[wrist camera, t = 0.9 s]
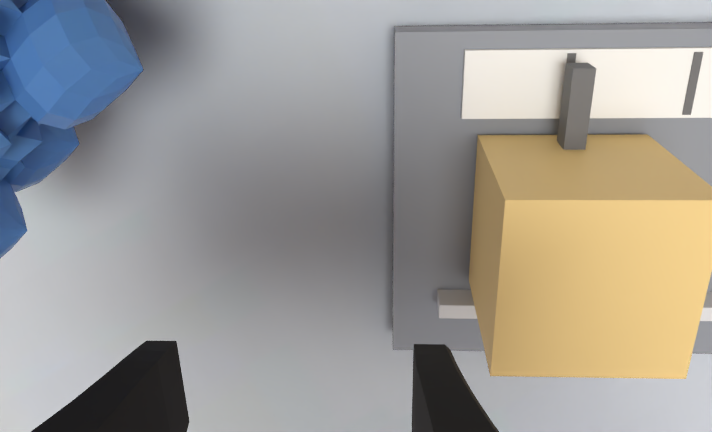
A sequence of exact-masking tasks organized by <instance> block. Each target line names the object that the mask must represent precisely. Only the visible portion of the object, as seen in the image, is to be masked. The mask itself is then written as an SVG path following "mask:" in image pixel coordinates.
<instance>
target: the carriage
mask: <svg viewBox="0 0 712 432" xmlns="http://www.w3.org/2000/svg"><path fill="white" fill-rule="evenodd" d="M595 75H596V68H595V67H594V66H592V65H591V64H589V63H566V65H565V74H564V82H563V91H562V100H561V108H560V117H559V126H558V134H557V135H478V138H477V154H476V170H475V186H474V202H473V218H472V235H471V251H470V267H469V283H470V288H471V292H472V297H473V301H474V306H475V310H476V315H477V319H478V323H479V328H480V332H481V337H482V341H483V346H484V350H485V354H486V359H487V363H488V368H489V372H490V376H526V377H595V378H664V379H686V376H687V372H688V368H689V364H690V360H691V356H692V351H693V347H694V343H695V339H696V335H697V331H698V326H699V322H700V318H701V314H702V310H703V306H704V301H705V297H706V293H707V289H708V285H709V281H710V277H711V272H712V186H710V185H709V184H708V183H707V182H706V181H704V180H703V179H702V178H701V177H699V176H698V175H697V174H696V173H694V172H693V171H692V170H691V169H690V168H688V167H687V166H686V165H685V164H683V163H682V162H681V161H680V160H678V159H677V158H676V157H675V156H674V155H672V154H671V153H670V152H669V151H667V150H666V149H665V148H664V147H662V146H661V145H660V144H659V143H658V142H656V141H655V140H654V139H653V138H651V137H650V136H649V135H648V134H632V135H587V134H588V127H589V120H590V112H591V105H592V97H593V90H594V83H595Z"/></svg>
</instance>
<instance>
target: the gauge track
mask: <svg viewBox="0 0 712 432" xmlns="http://www.w3.org/2000/svg"><path fill="white" fill-rule="evenodd" d="M566 63H589V64H591V65H592V66H594V67H595V68H596V75H595V83H594V90H593V97H592V105H591V112H590V120H589V127H588V134H587V135H632V134H648V135H649V136H650V137H651V138H653V139H654V140H655V141H656V142H658V143H659V144H660V145H661V146H662V147H664V148H665V149H666V150H667V151H669V152H670V153H671V154H672V155H674V156H675V157H676V158H677V159H678V160H680V161H681V162H682V163H683V164H685V165H686V166H687V167H688V168H690V169H691V170H692V171H693V172H694V173H696V174H697V175H698V176H699V177H701V178H702V179H703V180H704V181H706V182H707V183H708V184H709V185H710V186H712V22H703V23H620V24H537V25H454V26H395V39H394V194H393V350H414V344H445V345H446V346H447V347H448V348H449V349H450V350H457V351H485V350H484V346H483V341H482V337H481V332H480V328H479V323H478V319H477V315H476V310H475V306H474V301H473V297H472V292H471V288H470V283H469V267H470V251H471V235H472V218H473V202H474V186H475V170H476V154H477V138H478V135H557V134H558V126H559V117H560V108H561V100H562V91H563V82H564V74H565V65H566ZM692 353H696V354H712V272H711V277H710V281H709V285H708V289H707V293H706V297H705V301H704V306H703V310H702V314H701V318H700V322H699V326H698V331H697V335H696V339H695V343H694V347H693V351H692Z"/></svg>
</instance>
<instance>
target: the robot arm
mask: <svg viewBox="0 0 712 432" xmlns="http://www.w3.org/2000/svg"><path fill="white" fill-rule="evenodd" d="M188 424H189V417H188V411H187V404H186V398H185V392H184V386H183V380H182V373H181V367H180V361H179V355H178V348H177V342H176V341H146V342H144V343H143V344H142V345H140V346H139V347H138V348H137V349H135V350H134V351H133V352H132V353H130V354H129V355H128V356H127V357H125V358H124V359H123V360H122V361H121V362H119V363H118V364H117V365H116V366H115V367H113V368H112V369H111V370H110V371H109V372H107V373H106V374H105V375H104V376H103V377H101V378H100V379H99V380H98V381H96V382H95V383H94V384H93V385H91V386H90V387H89V388H88V389H87V390H85V391H84V392H83V393H82V394H80V395H79V396H78V397H77V398H75V399H74V400H73V401H72V402H70V403H69V404H68V405H66V406H65V407H64V408H62V409H61V410H60V411H58V412H57V413H56V414H54V415H53V416H52V417H50V418H49V419H47V420H46V421H45V422H43V423H42V424H41V425H39V426H38V427H37V428H35V429H34V430H33V431H31V432H187V428H188ZM412 432H499V431H498V430H497V428H496V427H495V426H494V424H493V423H492V421H491V420H490V418H489V417H488V415H487V414H486V412H485V411H484V409H483V408H482V406H481V405H480V403H479V402H478V400H477V399H476V397H475V396H474V394H473V392H472V391H471V389H470V387H469V386H468V384H467V382H466V380H465V379H464V377H463V375H462V373H461V371H460V370H459V368H458V366H457V364H456V362H455V359H454V357H453V355H452V353H451V350H450V349H449V348H448V347H447V346H446V345H445V344H414V355H413V399H412Z"/></svg>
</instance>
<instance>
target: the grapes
mask: <svg viewBox="0 0 712 432" xmlns="http://www.w3.org/2000/svg"><path fill="white" fill-rule="evenodd" d="M142 71H143V67H142V65H141V62H140V60H139V58H138V55H137V53H136V50H135V48H134V46H133V44H132V42H131V39H130V37H129V35H128V33H127V31H126V28H125V26H124V24H123V22H122V21H121V19H120V18H119V17H118V16H117V14H116V13H115V12H114V11H113V9H112V8H111V7H110V6H109V4H108V3H107V2H106V0H0V258H1V257H2V256H4V255H5V254H6V253H7V252H8V251H9V250H10V249H11V248H12V247H13V246H14V245H15V244H16V243H17V242H18V241H19V239H20V238H21V237H22V236H23V235H24V234H25V233H26V232H27V228H26V224H25V220H24V216H23V212H22V208H21V206H20V204H19V201H18V199H17V197H16V195H15V193H14V192H17V191H20V190H22V189H25V188H27V187H30V186H32V185H35V184H37V183H39V182H41V181H42V180H43V179H44V178H45V177H47V176H48V175H49V174H50V173H51V172H52V171H54V170H55V169H56V168H57V167H58V166H59V165H60V164H62V163H63V162H64V161H65V160H66V159H67V158H68V157H69V156H70V154H71V153H72V152H73V151H74V150H75V149H76V147H77V146H78V145H79V141H78V138H77V135H76V132H75V129H74V126H76V125H79V124H81V123H84V122H87V121H90V120H92V119H93V118H94V117H95V116H97V115H98V114H99V113H100V112H101V111H102V110H104V109H105V108H106V107H107V106H108V105H109V104H111V103H112V102H113V101H114V100H115V99H116V98H118V97H119V96H120V95H121V94H122V93H123V92H124V91H126V90H127V88H128V87H129V86H130V85H131V84H132V83H133V81H134V80H135V79H136V78H137V77H138V76H139V74H140V73H141V72H142Z"/></svg>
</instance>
